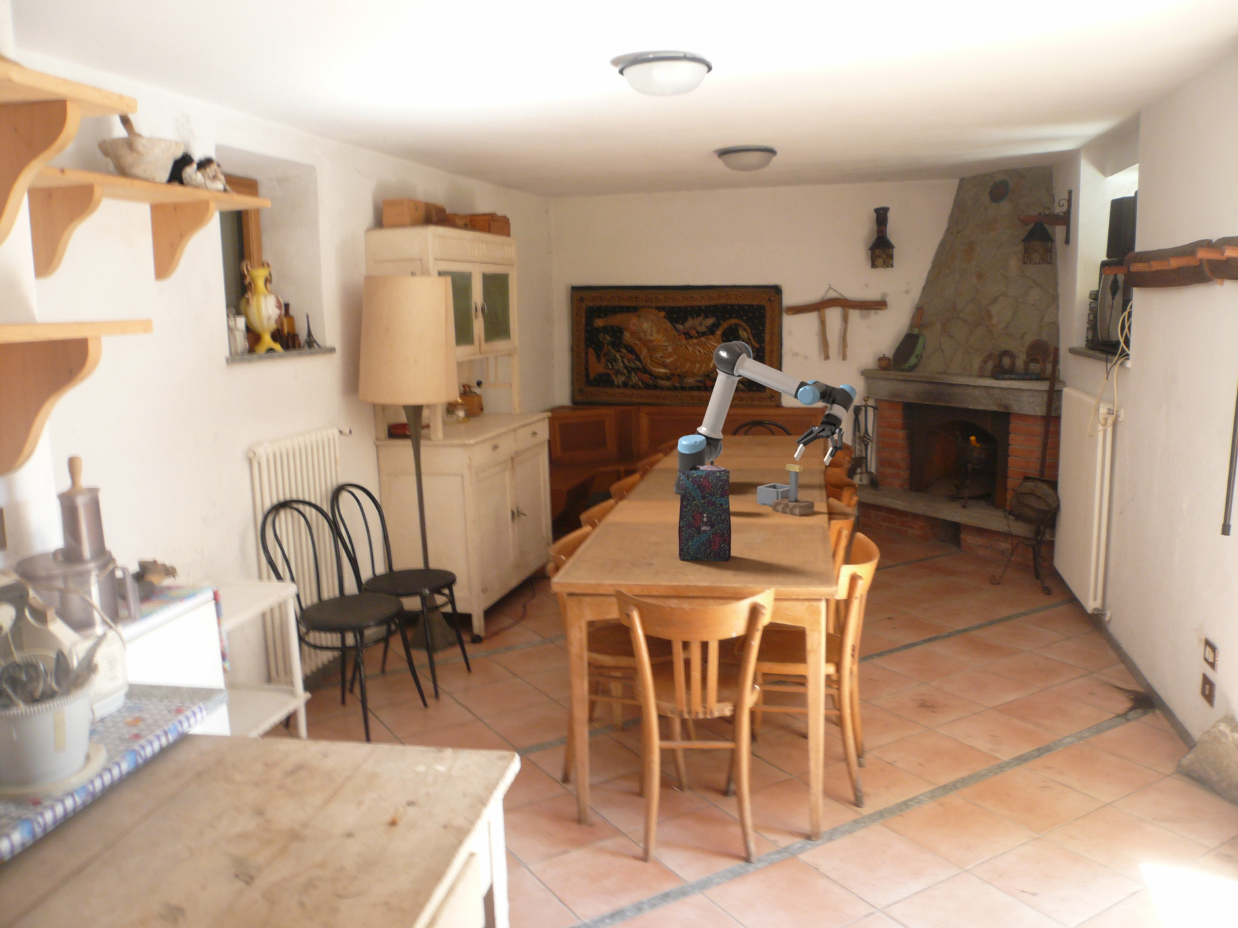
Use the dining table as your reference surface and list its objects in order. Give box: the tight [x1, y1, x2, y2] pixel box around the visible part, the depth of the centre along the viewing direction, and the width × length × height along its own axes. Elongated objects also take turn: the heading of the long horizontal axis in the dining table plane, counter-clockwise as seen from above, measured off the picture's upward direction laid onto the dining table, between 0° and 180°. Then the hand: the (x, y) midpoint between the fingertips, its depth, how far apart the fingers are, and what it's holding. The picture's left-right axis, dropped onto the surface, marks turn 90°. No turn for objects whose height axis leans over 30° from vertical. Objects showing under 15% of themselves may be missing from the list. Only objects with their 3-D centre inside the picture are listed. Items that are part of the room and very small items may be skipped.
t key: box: [785, 463, 804, 503], centre depth 364 cm, size 6×2×18 cm, turn 44°
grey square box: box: [756, 482, 789, 507], centre depth 379 cm, size 11×11×7 cm
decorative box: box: [677, 469, 732, 562], centre depth 301 cm, size 8×16×28 cm, turn 84°
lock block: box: [772, 497, 815, 517], centre depth 366 cm, size 12×10×4 cm
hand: (810, 461), depth 370 cm, fingers open, 13 cm apart
